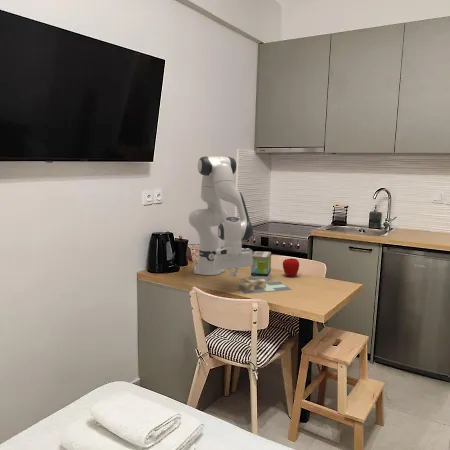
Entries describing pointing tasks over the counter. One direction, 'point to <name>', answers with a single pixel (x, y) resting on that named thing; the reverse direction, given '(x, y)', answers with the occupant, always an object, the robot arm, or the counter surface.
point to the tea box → (261, 265)
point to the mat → (267, 288)
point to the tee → (252, 284)
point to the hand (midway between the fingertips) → (233, 276)
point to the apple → (291, 267)
